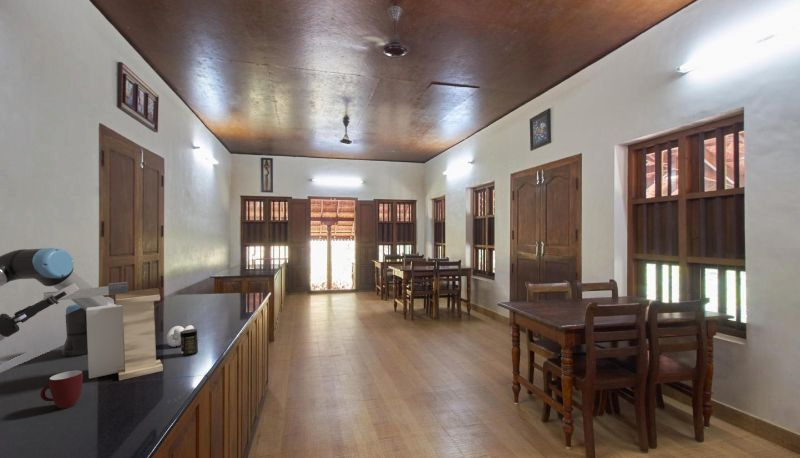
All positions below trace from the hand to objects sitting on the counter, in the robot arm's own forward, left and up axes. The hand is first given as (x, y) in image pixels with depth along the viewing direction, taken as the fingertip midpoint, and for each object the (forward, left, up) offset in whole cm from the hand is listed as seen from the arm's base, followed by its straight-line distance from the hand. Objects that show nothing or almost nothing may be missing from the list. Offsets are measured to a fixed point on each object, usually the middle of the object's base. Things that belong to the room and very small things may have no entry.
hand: (76, 286), depth 139 cm
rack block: (-10, +8, -36) cm, 38 cm away
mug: (+20, -4, -36) cm, 42 cm away
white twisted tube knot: (-30, +37, -36) cm, 60 cm away
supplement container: (-11, +37, -36) cm, 53 cm away
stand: (0, +18, -36) cm, 41 cm away
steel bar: (0, +3, -4) cm, 5 cm away
